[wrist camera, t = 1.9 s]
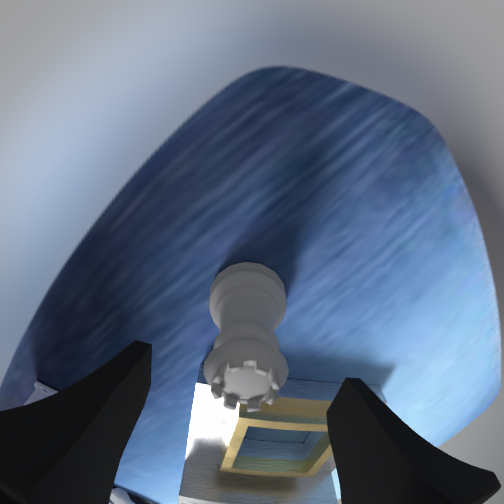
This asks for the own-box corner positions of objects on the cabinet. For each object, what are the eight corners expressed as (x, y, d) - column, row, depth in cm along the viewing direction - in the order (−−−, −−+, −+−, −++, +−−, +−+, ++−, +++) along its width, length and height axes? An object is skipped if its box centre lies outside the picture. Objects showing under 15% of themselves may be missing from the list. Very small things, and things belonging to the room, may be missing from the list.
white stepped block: (184, 473, 24) (176, 515, 18) (200, 363, 18) (186, 430, 13) (304, 484, 25) (309, 524, 19) (378, 385, 19) (405, 439, 14)
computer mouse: (157, 515, 31) (153, 531, 27) (64, 467, 27) (56, 484, 24) (186, 509, 29) (183, 528, 25) (79, 456, 25) (69, 476, 21)
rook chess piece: (244, 242, 16) (238, 315, 8) (300, 291, 17) (333, 383, 9) (195, 296, 17) (160, 388, 9) (250, 338, 18) (250, 438, 10)
